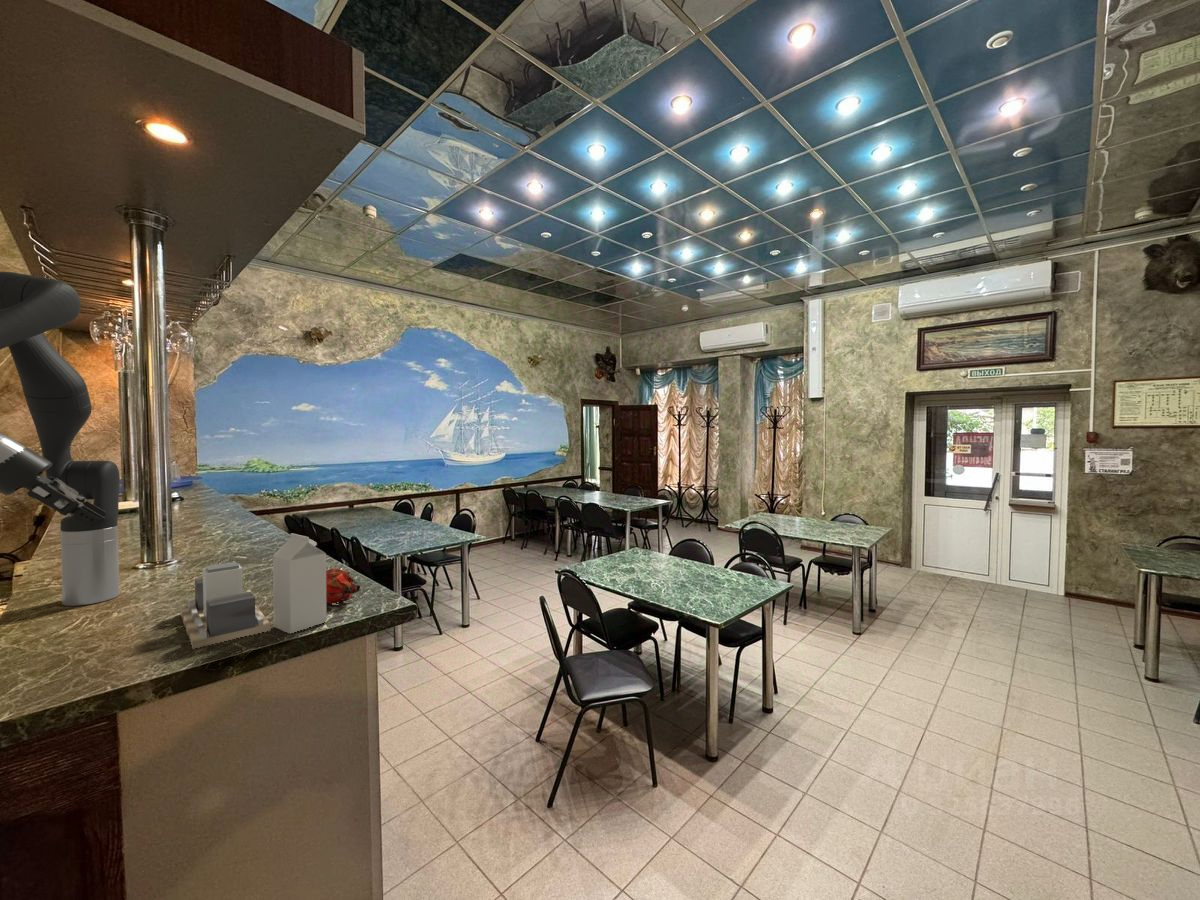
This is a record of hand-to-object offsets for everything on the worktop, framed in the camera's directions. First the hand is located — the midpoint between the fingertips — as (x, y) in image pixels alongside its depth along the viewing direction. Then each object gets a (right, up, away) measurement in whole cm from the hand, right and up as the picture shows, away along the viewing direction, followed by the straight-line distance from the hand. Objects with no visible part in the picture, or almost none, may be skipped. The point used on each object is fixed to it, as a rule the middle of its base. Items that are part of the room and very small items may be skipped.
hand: (100, 520), depth 88 cm
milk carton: (+31, -24, +10) cm, 40 cm away
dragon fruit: (+31, -23, +24) cm, 46 cm away
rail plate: (+14, -23, +11) cm, 29 cm away
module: (+14, -22, +11) cm, 28 cm away
